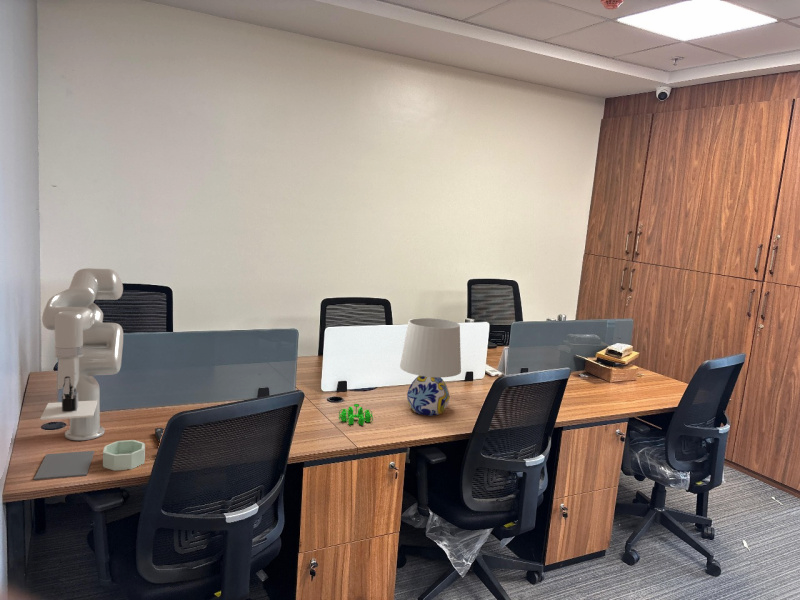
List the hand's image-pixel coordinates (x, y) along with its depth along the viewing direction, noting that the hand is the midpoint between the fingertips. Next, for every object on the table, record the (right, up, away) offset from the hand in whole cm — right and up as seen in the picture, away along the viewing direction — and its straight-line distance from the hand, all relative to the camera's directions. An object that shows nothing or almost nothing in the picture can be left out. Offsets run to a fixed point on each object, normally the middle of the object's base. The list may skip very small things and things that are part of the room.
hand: (70, 407), depth 184 cm
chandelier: (+85, -17, +61) cm, 106 cm away
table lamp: (+116, -16, +79) cm, 141 cm away
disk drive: (+21, -17, +29) cm, 40 cm away
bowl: (+14, -19, +7) cm, 25 cm away
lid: (0, -1, 0) cm, 1 cm away
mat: (-3, -19, +2) cm, 19 cm away
